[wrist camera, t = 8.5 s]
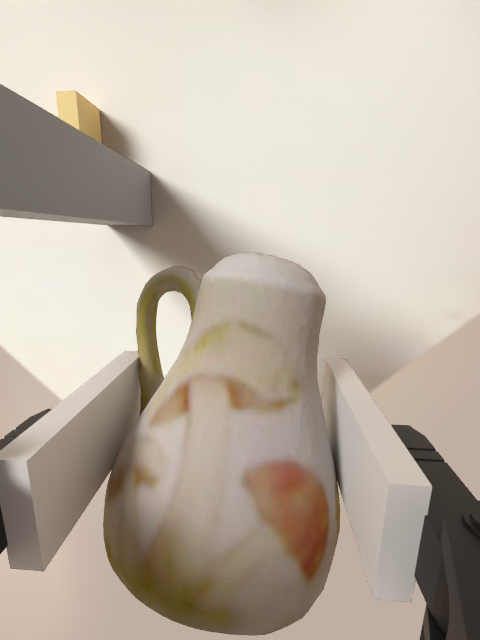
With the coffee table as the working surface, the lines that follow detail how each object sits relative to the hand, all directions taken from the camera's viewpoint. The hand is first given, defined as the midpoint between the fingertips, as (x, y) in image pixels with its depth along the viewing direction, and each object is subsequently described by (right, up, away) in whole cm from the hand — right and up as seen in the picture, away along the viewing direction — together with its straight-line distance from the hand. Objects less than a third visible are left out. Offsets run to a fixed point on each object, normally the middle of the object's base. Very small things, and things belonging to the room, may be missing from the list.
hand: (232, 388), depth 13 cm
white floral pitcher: (0, +1, +1) cm, 1 cm away
